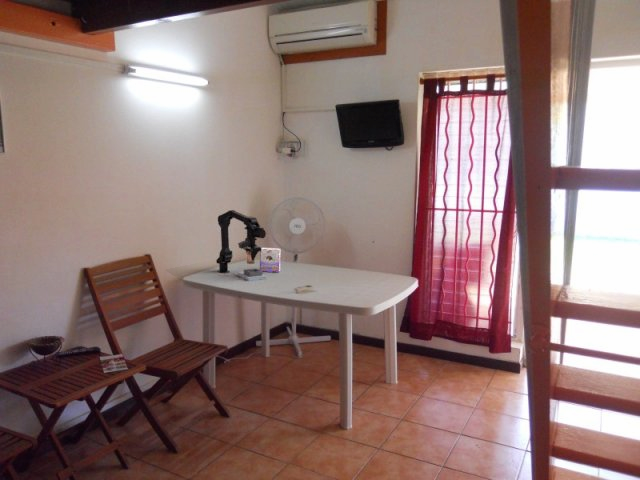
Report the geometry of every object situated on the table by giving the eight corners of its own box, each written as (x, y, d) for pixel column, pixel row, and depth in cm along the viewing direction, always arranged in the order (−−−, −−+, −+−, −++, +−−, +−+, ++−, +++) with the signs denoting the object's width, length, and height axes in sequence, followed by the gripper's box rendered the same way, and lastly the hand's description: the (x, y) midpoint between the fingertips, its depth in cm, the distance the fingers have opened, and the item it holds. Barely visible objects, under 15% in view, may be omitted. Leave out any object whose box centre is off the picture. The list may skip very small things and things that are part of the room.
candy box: (280, 271, 354) (281, 248, 352) (278, 272, 349) (279, 249, 346) (261, 269, 356) (261, 247, 353) (259, 271, 350) (260, 248, 347)
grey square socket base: (237, 275, 336) (237, 268, 335) (254, 273, 344) (254, 266, 343) (248, 280, 323) (248, 273, 322) (266, 278, 330) (266, 271, 329)
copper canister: (245, 262, 329) (245, 250, 328) (252, 262, 332) (252, 250, 331) (248, 264, 325) (249, 252, 324) (255, 263, 328) (256, 251, 327)
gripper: (233, 235, 329) (233, 258, 332) (245, 239, 314) (245, 263, 316) (249, 234, 335) (249, 257, 338) (261, 238, 320) (261, 262, 322)
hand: (250, 260), depth 328 cm, fingers closed on copper canister, 5 cm apart
